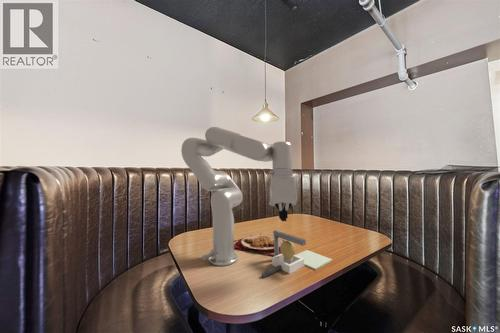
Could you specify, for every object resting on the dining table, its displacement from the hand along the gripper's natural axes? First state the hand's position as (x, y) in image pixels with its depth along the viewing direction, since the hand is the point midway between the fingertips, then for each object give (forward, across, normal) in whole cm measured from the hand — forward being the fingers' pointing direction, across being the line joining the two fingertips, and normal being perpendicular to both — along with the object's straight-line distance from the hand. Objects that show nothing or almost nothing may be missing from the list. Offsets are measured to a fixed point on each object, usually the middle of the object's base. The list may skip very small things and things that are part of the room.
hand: (283, 220), depth 76 cm
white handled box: (+20, -2, +4) cm, 21 cm away
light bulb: (+21, +3, +6) cm, 22 cm away
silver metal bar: (+9, +3, +6) cm, 12 cm away
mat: (+20, +15, +10) cm, 27 cm away
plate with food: (+21, -4, +30) cm, 37 cm away
